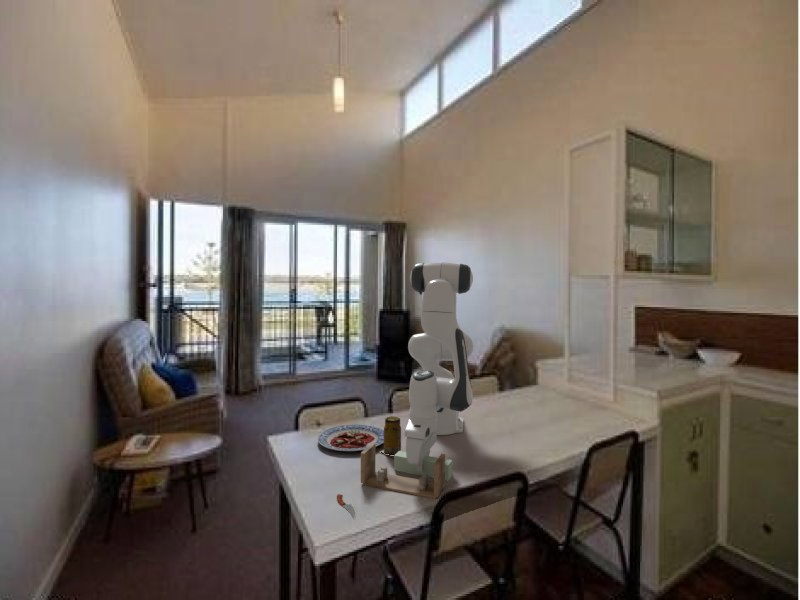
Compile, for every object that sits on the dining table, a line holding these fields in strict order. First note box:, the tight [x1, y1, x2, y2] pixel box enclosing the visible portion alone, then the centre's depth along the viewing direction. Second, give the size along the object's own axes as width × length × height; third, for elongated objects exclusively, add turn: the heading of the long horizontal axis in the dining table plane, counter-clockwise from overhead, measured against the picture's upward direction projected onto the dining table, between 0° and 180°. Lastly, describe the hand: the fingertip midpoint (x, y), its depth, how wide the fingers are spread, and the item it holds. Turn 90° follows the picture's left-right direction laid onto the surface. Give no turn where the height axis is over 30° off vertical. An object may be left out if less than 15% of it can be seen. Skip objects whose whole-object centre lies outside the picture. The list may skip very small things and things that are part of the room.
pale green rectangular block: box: [393, 451, 453, 482], centre depth 136 cm, size 4×18×5 cm, turn 67°
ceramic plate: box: [317, 424, 384, 452], centre depth 161 cm, size 26×26×3 cm
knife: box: [336, 493, 358, 520], centre depth 116 cm, size 13×1×3 cm
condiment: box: [378, 415, 406, 459], centre depth 151 cm, size 7×8×12 cm
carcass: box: [360, 443, 446, 500], centre depth 127 cm, size 8×24×10 cm, turn 70°
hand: (422, 466), depth 136 cm, fingers open, 4 cm apart
